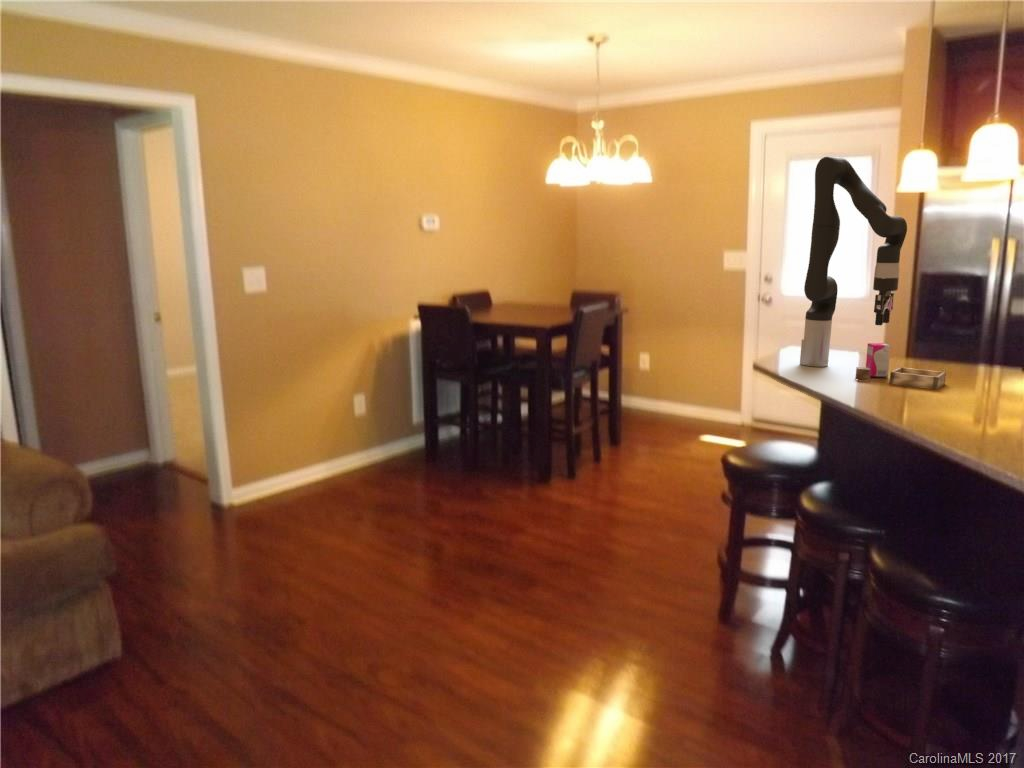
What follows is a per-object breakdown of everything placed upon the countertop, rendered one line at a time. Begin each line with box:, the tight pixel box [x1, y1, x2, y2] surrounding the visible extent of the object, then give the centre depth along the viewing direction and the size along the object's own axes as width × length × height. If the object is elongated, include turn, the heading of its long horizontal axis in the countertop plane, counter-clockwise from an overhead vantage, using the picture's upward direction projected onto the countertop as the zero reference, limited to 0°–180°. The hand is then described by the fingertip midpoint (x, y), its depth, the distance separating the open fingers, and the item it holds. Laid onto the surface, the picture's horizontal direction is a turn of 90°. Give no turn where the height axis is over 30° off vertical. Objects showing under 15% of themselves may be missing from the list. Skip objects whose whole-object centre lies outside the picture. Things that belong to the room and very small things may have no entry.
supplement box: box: [865, 342, 892, 379], centre depth 260 cm, size 6×6×12 cm
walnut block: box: [855, 366, 871, 381], centre depth 256 cm, size 4×4×4 cm
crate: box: [889, 366, 947, 391], centre depth 248 cm, size 14×12×4 cm
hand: (882, 324), depth 258 cm, fingers open, 8 cm apart
